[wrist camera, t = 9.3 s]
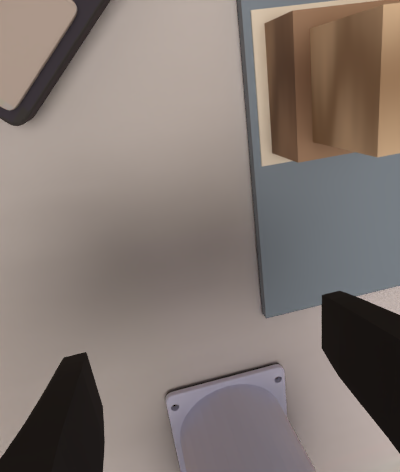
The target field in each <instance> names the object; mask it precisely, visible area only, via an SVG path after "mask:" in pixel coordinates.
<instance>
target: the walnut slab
mask: <svg viewBox="0 0 400 472" xmlns="http://www.w3.org/2000/svg"><path fill="white" fill-rule="evenodd" d="M392 3H400V0H379V1H371V2H362V3H353V4H345V5H336V6H328V7H319V8H310V9H302V10H293V11H291V12H288V13H286V14H284V15H282V16H280V17H277V18H275V19H273V20H271V21H269V22H267V23H264V25H265V42H266V58H267V75H268V91H269V108H270V125H271V141H272V153H273V154H276V155H278V156H281V157H284V158H287V159H289V160H292V161H295V162H297V163H299V162H305V161H310V160H316V159H321V158H327V157H332V156H338V155H343V154H349V153H354V152H352V151H348V150H344V149H340V148H335V147H331V146H327V145H323V144H319V143H314V142H313V132H312V88H311V44H310V28H313V27H316V26H319V25H322V24H326V23H329V22H332V21H335V20H338V19H341V18H344V17H347V16H350V15H353V14H356V13H359V12H362V11H365V10H368V9H371V8H374V7H377V6H381V5H384V4H392Z"/></svg>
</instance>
